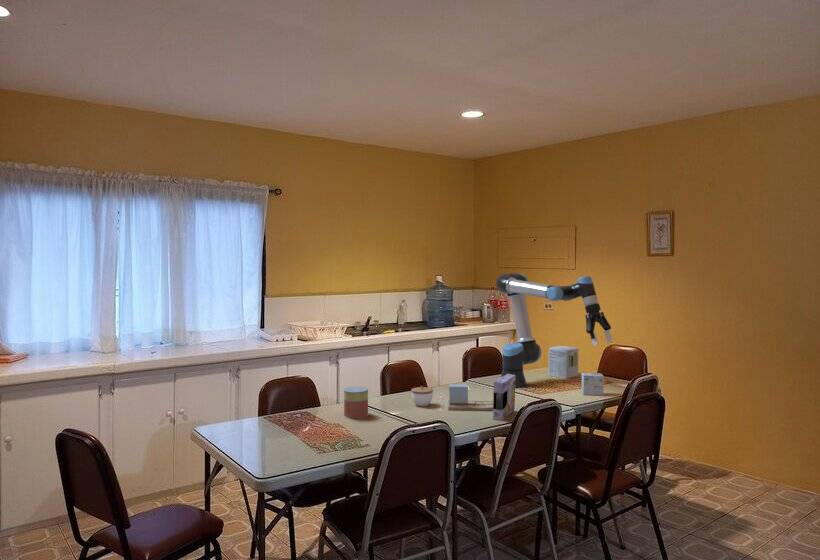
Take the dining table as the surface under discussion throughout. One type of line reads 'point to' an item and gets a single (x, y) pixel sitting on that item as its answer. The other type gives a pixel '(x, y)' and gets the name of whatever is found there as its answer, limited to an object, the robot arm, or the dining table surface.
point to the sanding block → (458, 394)
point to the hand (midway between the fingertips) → (603, 343)
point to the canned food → (356, 402)
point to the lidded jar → (422, 395)
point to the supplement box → (563, 362)
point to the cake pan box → (504, 396)
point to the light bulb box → (592, 384)
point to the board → (473, 406)
